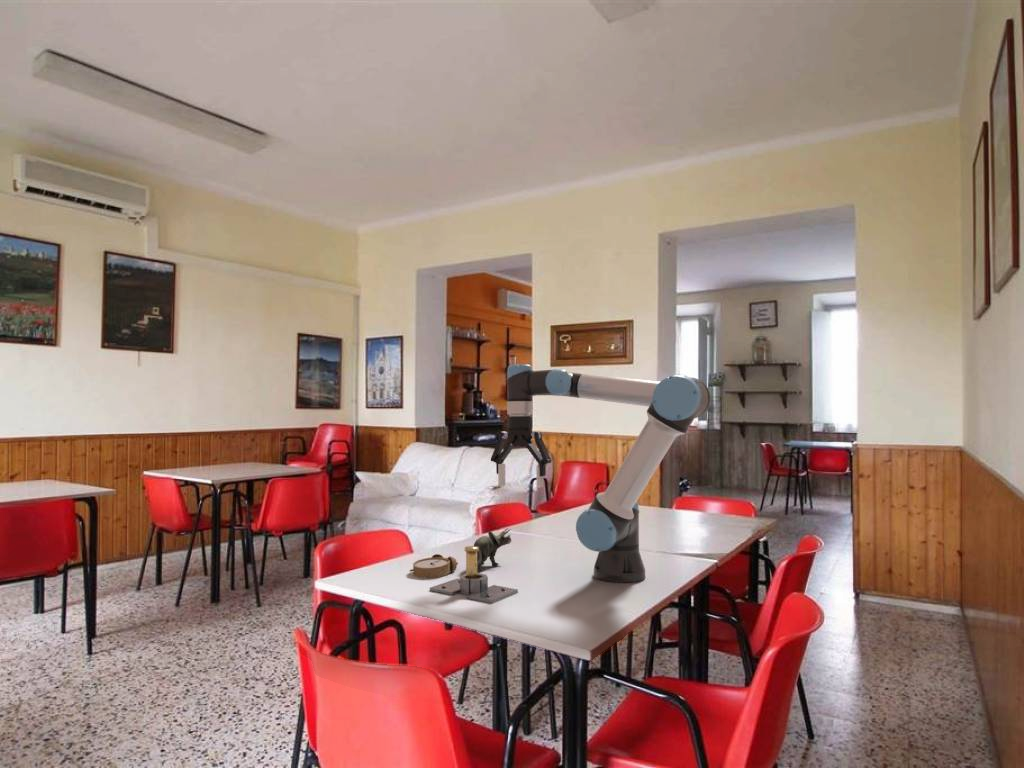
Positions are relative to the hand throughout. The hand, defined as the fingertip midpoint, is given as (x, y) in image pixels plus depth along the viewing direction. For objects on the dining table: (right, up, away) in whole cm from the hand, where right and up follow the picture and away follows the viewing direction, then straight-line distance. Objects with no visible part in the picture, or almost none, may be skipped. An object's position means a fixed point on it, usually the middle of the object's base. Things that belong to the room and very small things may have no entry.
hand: (520, 486), depth 190 cm
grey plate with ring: (-13, -26, -18) cm, 34 cm away
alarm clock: (-26, -27, +3) cm, 38 cm away
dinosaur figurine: (-12, -27, +9) cm, 31 cm away
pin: (-14, -26, -18) cm, 34 cm away
